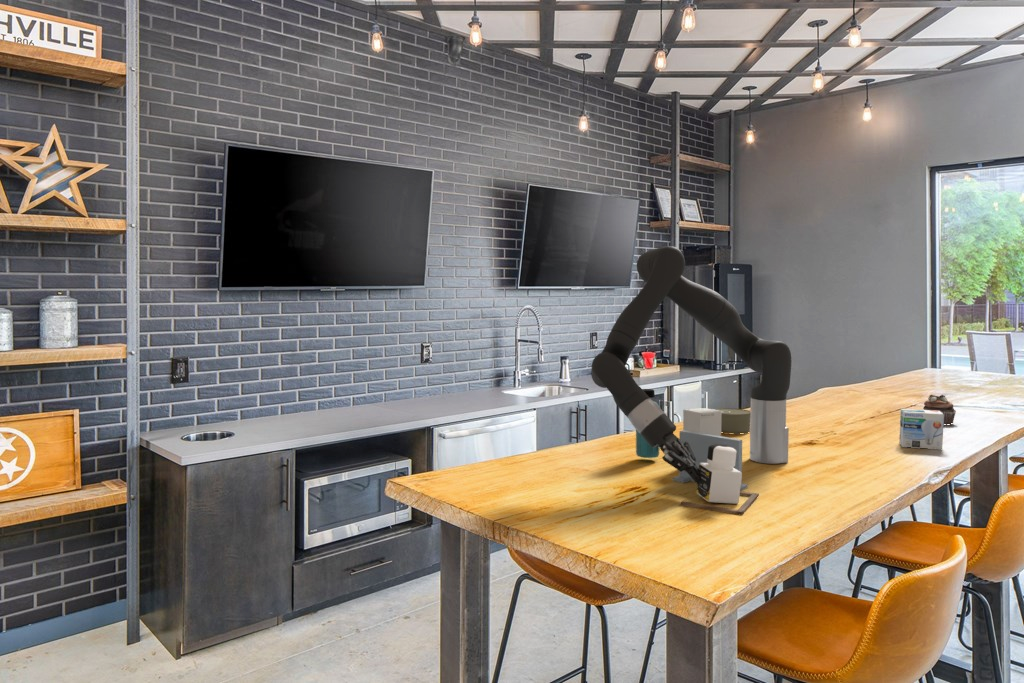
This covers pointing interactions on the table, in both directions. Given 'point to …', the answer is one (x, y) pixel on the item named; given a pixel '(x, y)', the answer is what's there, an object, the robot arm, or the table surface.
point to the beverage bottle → (641, 445)
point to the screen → (700, 450)
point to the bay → (740, 511)
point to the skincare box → (702, 421)
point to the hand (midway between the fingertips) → (702, 481)
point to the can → (735, 421)
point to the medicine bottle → (720, 476)
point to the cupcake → (941, 407)
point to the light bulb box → (921, 428)
